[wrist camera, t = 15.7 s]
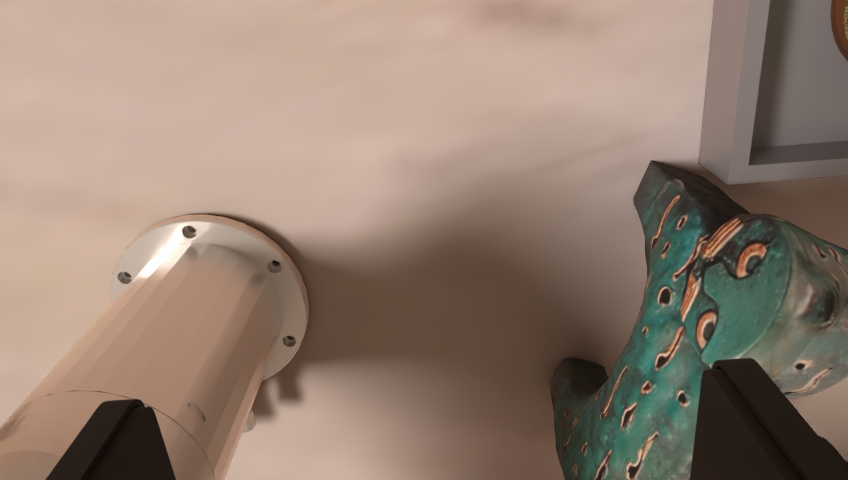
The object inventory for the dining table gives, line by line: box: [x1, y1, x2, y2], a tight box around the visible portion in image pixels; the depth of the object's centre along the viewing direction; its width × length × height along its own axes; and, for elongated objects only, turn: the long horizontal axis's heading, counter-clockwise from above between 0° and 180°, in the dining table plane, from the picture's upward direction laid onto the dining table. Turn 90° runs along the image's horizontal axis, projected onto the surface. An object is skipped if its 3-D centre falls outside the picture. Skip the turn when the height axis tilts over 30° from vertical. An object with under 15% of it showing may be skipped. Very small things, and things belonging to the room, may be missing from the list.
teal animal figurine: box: [551, 161, 848, 480], centre depth 33 cm, size 20×6×20 cm, turn 162°
